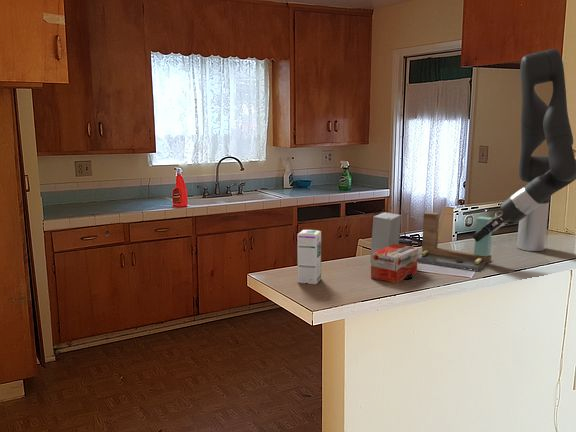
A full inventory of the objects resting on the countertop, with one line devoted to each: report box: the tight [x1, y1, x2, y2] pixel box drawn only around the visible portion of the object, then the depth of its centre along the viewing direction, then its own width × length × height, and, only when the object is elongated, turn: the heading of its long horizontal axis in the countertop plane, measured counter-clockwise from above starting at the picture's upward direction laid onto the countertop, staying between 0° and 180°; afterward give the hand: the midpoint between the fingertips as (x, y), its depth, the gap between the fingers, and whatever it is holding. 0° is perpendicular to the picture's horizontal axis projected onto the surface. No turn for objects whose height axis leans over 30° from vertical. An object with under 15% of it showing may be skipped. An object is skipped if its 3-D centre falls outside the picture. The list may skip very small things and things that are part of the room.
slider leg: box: [473, 216, 494, 264], centre depth 172 cm, size 9×4×14 cm, turn 147°
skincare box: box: [369, 211, 402, 264], centre depth 174 cm, size 8×7×16 cm
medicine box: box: [370, 243, 419, 284], centre depth 161 cm, size 15×8×8 cm, turn 142°
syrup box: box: [296, 229, 322, 285], centre depth 154 cm, size 6×6×14 cm
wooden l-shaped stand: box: [421, 211, 493, 263], centre depth 176 cm, size 9×22×14 cm, turn 57°
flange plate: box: [417, 251, 488, 272], centre depth 178 cm, size 16×21×1 cm
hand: (477, 237), depth 175 cm, fingers closed on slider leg, 4 cm apart
